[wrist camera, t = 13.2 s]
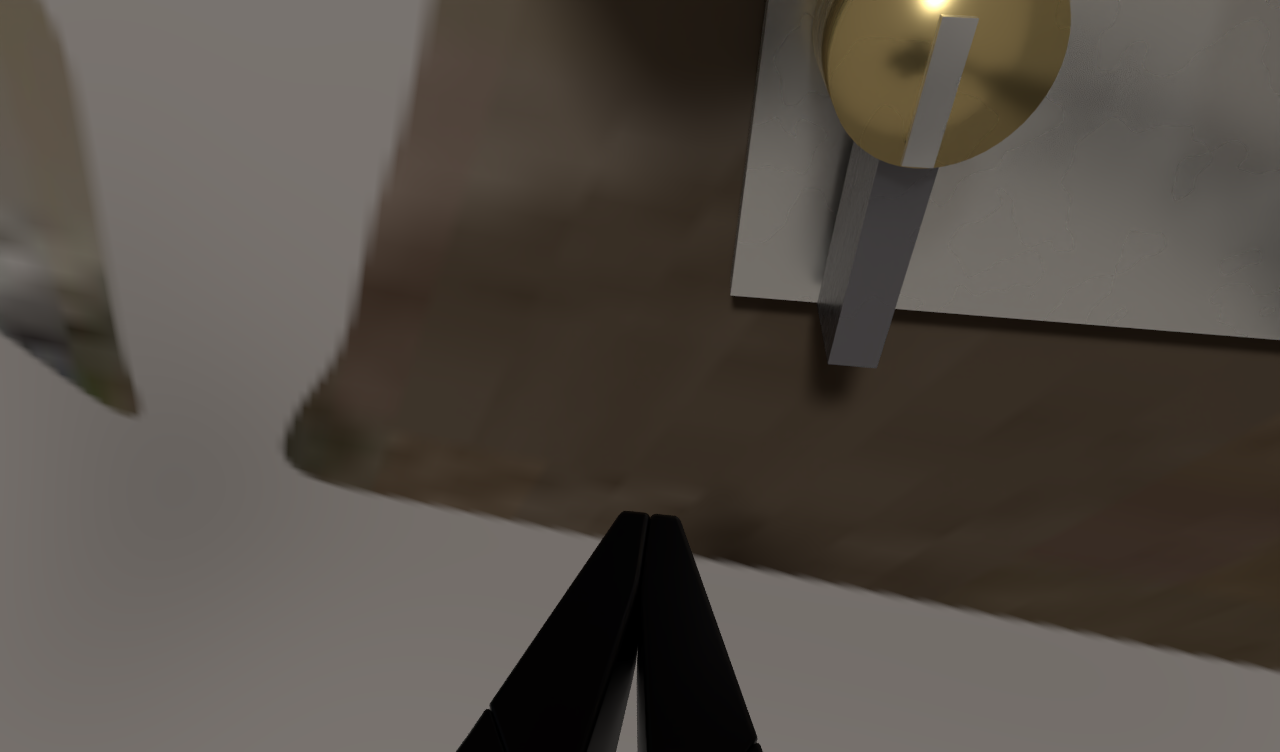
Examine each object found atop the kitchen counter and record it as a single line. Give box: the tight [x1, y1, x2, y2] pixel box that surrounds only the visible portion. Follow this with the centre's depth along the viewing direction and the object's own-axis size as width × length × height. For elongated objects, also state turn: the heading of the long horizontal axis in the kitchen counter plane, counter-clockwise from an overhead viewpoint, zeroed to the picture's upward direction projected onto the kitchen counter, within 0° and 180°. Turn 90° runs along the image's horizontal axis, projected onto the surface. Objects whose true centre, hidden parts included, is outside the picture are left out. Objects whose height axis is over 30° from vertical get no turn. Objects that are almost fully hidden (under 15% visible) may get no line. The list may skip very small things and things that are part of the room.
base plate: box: [730, 0, 1280, 340], centre depth 15 cm, size 14×22×1 cm, turn 88°
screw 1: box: [812, 0, 1071, 368], centre depth 15 cm, size 9×4×4 cm, turn 178°
